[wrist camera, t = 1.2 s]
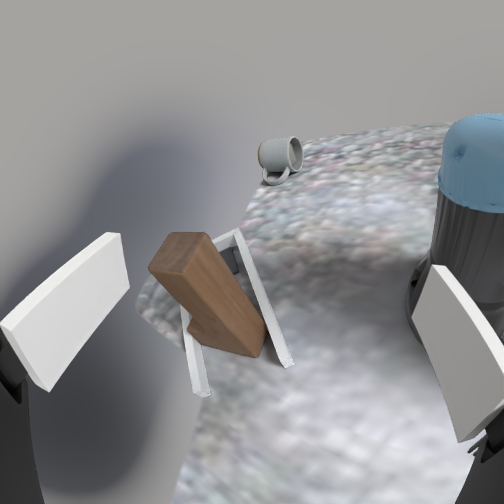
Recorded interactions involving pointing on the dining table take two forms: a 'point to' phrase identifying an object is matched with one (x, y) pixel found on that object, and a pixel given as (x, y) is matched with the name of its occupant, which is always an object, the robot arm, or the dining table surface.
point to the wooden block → (209, 294)
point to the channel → (225, 250)
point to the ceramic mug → (280, 157)
